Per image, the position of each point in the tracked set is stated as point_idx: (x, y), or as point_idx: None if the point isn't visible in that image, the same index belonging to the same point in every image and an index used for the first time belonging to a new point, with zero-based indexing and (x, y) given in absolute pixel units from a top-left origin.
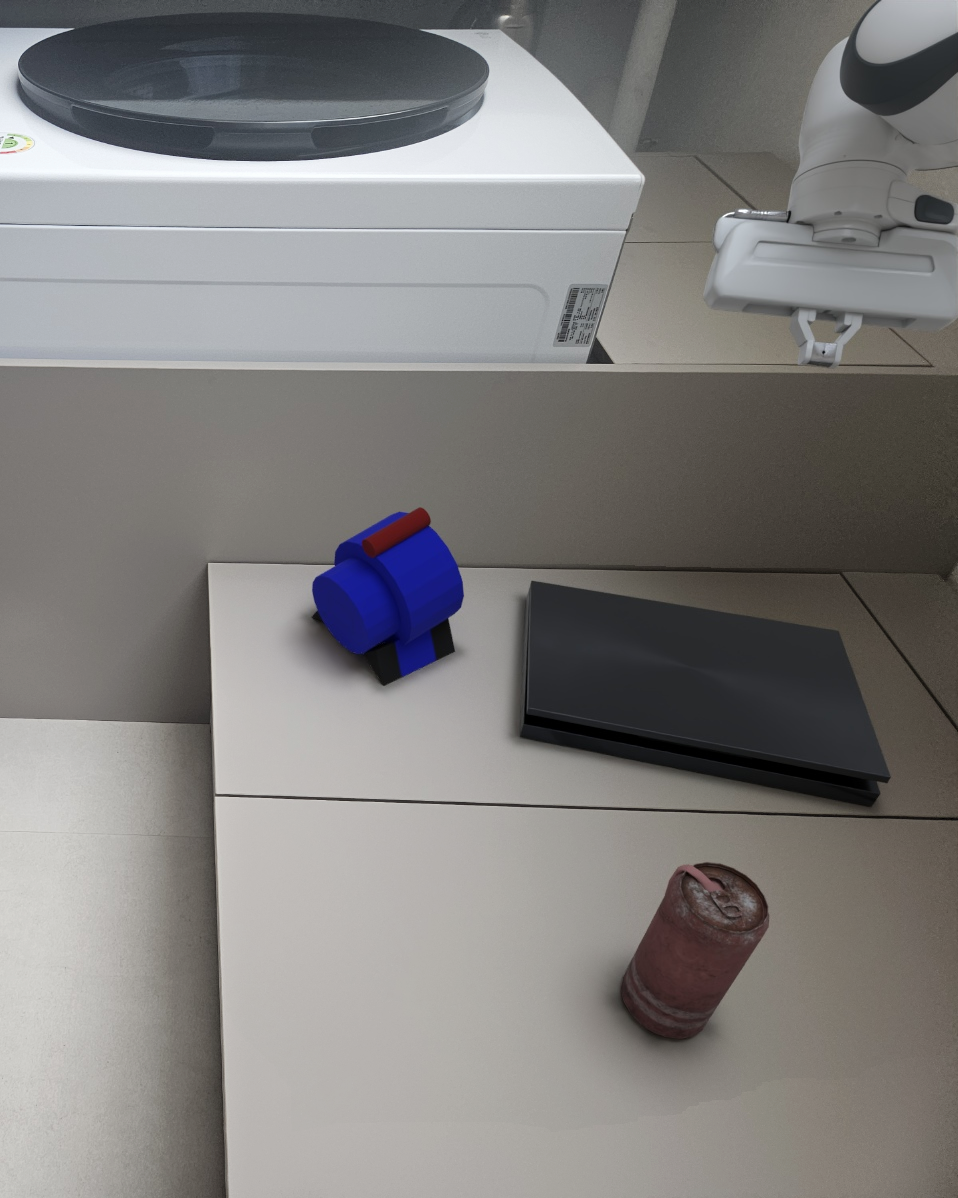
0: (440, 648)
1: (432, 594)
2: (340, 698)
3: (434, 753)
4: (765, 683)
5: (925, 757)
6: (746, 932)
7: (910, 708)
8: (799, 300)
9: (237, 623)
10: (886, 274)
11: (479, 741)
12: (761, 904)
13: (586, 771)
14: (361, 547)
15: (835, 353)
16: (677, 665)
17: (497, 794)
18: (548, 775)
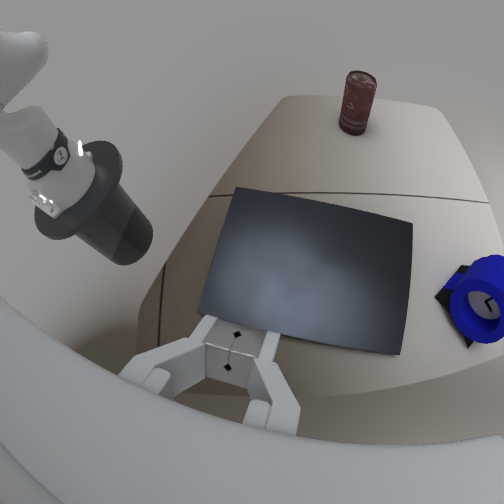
0: (444, 291)
1: (479, 266)
2: (474, 255)
3: (436, 222)
4: (272, 253)
5: (194, 231)
6: (356, 71)
7: (180, 266)
8: (314, 444)
9: None
10: (6, 424)
11: (420, 230)
12: (350, 76)
13: (374, 213)
14: None
15: (211, 328)
16: (324, 267)
17: (410, 200)
18: (390, 210)
